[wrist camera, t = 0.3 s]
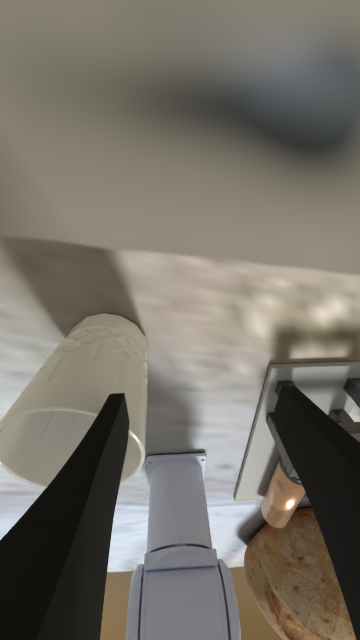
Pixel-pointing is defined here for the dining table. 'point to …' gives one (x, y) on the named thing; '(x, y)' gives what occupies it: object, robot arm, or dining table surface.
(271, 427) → the dark gray arch
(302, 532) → the bread
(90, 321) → the white cup
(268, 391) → the pale gray board
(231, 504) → the dining table surface
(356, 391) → the collar
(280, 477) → the copper tube
